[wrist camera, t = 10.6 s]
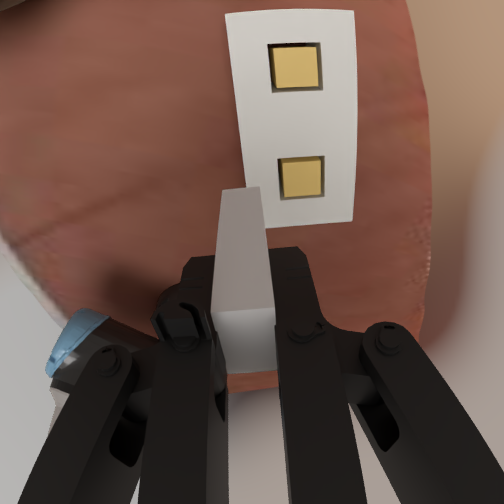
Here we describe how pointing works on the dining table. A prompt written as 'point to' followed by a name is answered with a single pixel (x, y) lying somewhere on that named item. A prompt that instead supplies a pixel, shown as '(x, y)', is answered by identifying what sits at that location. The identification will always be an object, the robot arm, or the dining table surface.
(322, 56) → the socket block
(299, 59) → the peg near
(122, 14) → the dining table surface
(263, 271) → the robot arm
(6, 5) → the plant pot
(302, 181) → the peg far
